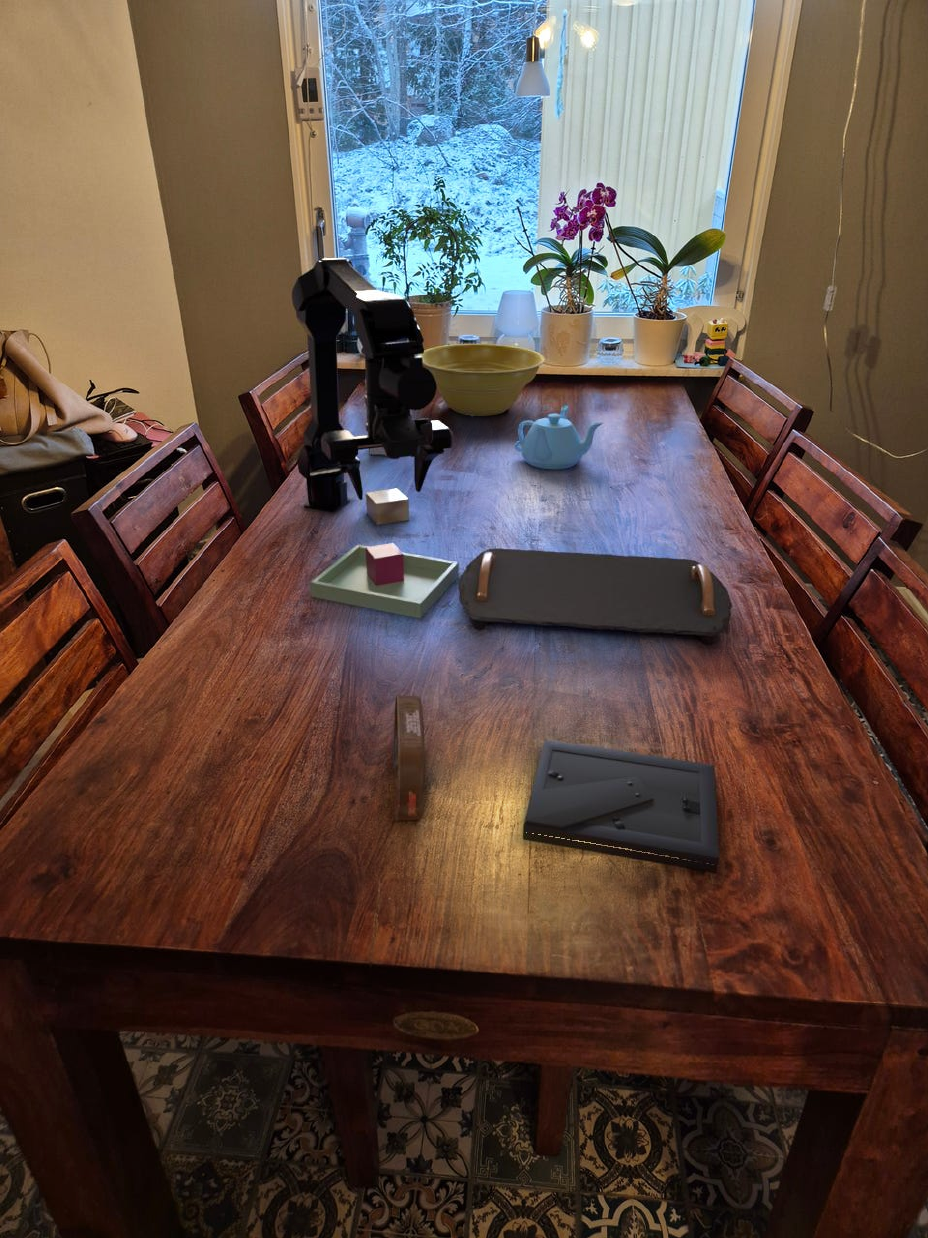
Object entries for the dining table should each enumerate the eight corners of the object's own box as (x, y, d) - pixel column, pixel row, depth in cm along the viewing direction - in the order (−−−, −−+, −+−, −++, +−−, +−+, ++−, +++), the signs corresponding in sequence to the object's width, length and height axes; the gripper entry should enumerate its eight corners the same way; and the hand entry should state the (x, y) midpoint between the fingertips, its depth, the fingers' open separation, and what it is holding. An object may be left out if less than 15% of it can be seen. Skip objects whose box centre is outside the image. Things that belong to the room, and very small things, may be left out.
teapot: (506, 455, 179) (507, 408, 173) (567, 447, 183) (570, 402, 178) (536, 477, 167) (538, 427, 162) (600, 468, 172) (604, 419, 167)
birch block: (377, 524, 144) (376, 503, 142) (366, 513, 149) (365, 492, 147) (409, 520, 146) (408, 498, 144) (397, 508, 151) (397, 487, 149)
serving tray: (714, 577, 127) (721, 540, 124) (741, 655, 107) (749, 613, 104) (467, 562, 131) (468, 526, 128) (448, 635, 111) (448, 594, 108)
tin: (393, 742, 90) (390, 678, 86) (421, 740, 90) (420, 677, 86) (394, 840, 77) (391, 771, 73) (427, 839, 77) (426, 769, 73)
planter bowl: (546, 427, 197) (549, 371, 191) (413, 426, 198) (412, 369, 191) (537, 394, 225) (540, 344, 219) (421, 392, 226) (420, 342, 219)
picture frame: (522, 839, 77) (716, 873, 74) (523, 822, 76) (720, 855, 73) (543, 753, 89) (711, 779, 85) (544, 736, 88) (715, 762, 84)
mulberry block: (376, 586, 122) (374, 558, 120) (366, 573, 126) (365, 547, 123) (404, 580, 124) (403, 553, 121) (394, 568, 127) (393, 542, 125)
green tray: (311, 596, 120) (309, 582, 119) (357, 557, 132) (356, 544, 131) (420, 618, 115) (420, 603, 113) (458, 576, 126) (458, 562, 125)
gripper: (338, 413, 107) (344, 523, 115) (468, 400, 113) (466, 505, 121) (316, 392, 115) (324, 496, 123) (439, 381, 122) (439, 480, 130)
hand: (389, 495), depth 124 cm, fingers open, 9 cm apart
